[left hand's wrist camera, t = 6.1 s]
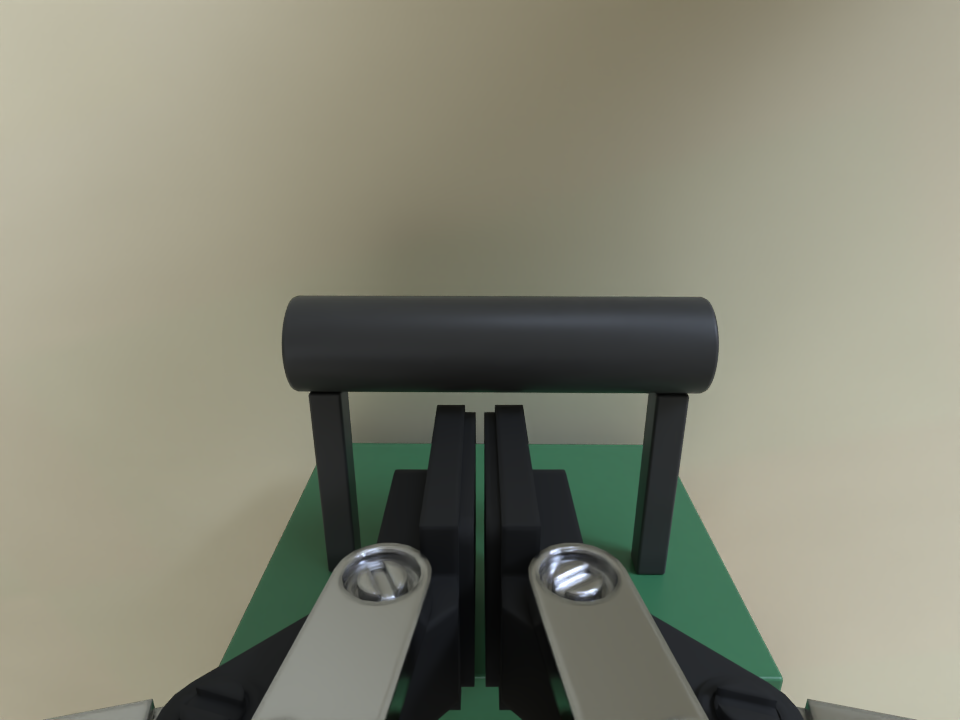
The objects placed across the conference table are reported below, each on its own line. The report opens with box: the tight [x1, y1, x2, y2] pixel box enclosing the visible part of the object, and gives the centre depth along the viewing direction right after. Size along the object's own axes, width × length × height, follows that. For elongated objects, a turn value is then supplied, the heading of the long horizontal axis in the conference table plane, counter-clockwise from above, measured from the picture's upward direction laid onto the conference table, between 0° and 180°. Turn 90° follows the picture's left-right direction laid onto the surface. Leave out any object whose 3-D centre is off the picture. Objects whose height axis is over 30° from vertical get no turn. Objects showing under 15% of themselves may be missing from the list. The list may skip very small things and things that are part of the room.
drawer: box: [219, 296, 783, 720], centre depth 15 cm, size 18×10×8 cm, turn 0°
